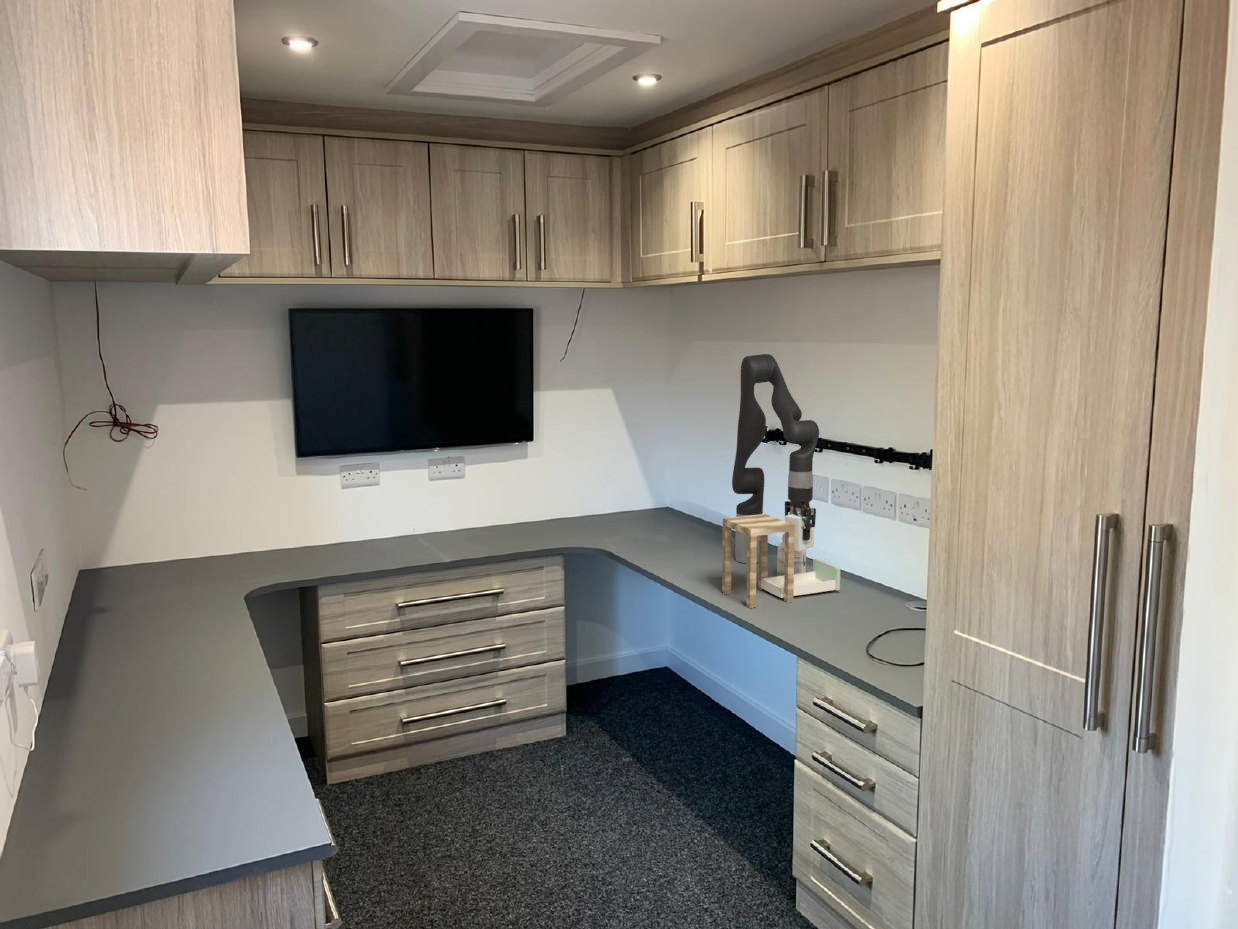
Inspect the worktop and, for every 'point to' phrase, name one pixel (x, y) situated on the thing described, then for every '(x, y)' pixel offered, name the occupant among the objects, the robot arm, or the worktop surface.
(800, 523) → the small box
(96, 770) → the worktop surface
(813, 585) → the drawer
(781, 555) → the ink box
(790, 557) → the wooden step stool
